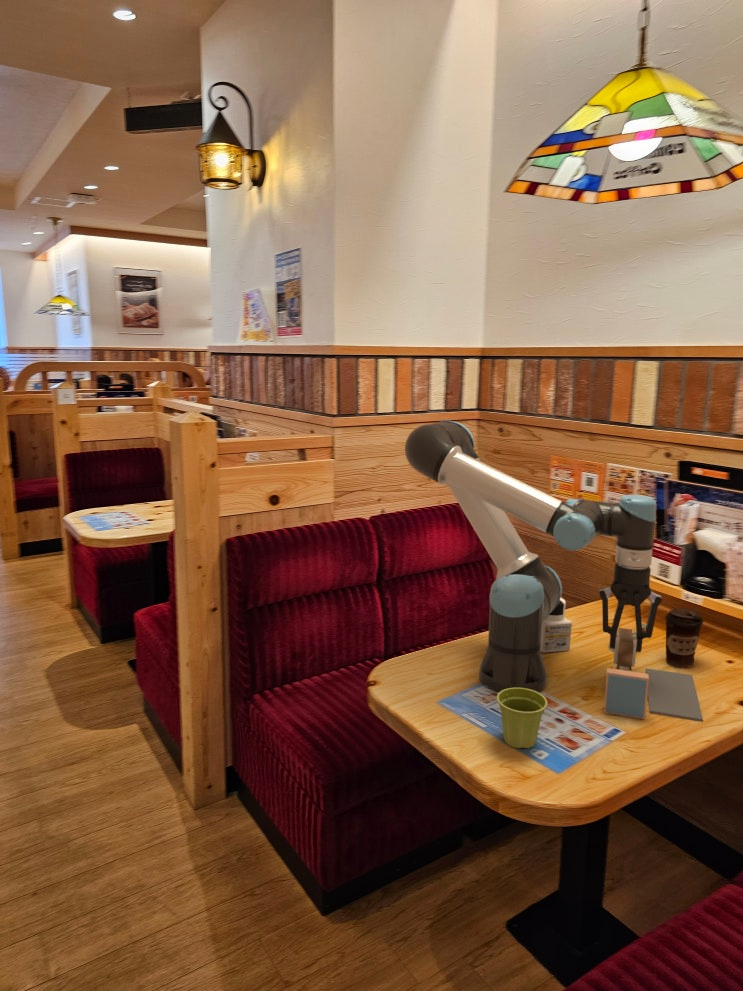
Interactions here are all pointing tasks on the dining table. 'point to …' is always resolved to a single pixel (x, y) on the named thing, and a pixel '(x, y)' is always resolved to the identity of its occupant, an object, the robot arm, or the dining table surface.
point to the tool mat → (673, 695)
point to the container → (556, 630)
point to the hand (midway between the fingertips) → (623, 662)
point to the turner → (625, 649)
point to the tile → (626, 693)
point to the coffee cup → (682, 636)
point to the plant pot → (521, 715)
